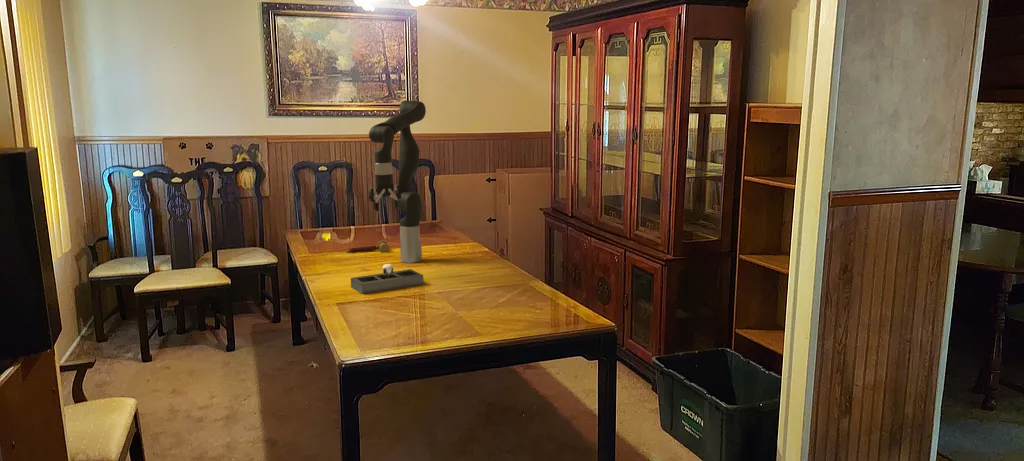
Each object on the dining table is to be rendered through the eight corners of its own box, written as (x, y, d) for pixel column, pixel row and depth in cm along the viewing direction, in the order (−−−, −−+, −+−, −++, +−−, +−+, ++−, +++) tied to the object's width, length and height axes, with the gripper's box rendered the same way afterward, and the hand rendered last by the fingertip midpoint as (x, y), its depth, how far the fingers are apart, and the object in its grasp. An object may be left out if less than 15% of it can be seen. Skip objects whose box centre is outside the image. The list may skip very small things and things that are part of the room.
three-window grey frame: (411, 278, 301) (410, 269, 301) (423, 284, 292) (423, 275, 291) (351, 287, 287) (350, 277, 286) (362, 294, 277) (361, 284, 276)
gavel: (345, 249, 346) (344, 245, 355) (346, 258, 347) (345, 253, 356) (388, 243, 351) (386, 240, 361) (389, 252, 352) (387, 248, 362)
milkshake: (381, 284, 291) (380, 261, 289) (394, 284, 292) (393, 260, 290) (380, 287, 287) (379, 263, 285) (393, 287, 287) (392, 263, 285)
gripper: (395, 170, 308) (397, 206, 312) (364, 173, 300) (367, 210, 304) (402, 172, 302) (404, 209, 305) (371, 175, 294) (374, 213, 298)
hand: (385, 209), depth 305 cm, fingers open, 8 cm apart
